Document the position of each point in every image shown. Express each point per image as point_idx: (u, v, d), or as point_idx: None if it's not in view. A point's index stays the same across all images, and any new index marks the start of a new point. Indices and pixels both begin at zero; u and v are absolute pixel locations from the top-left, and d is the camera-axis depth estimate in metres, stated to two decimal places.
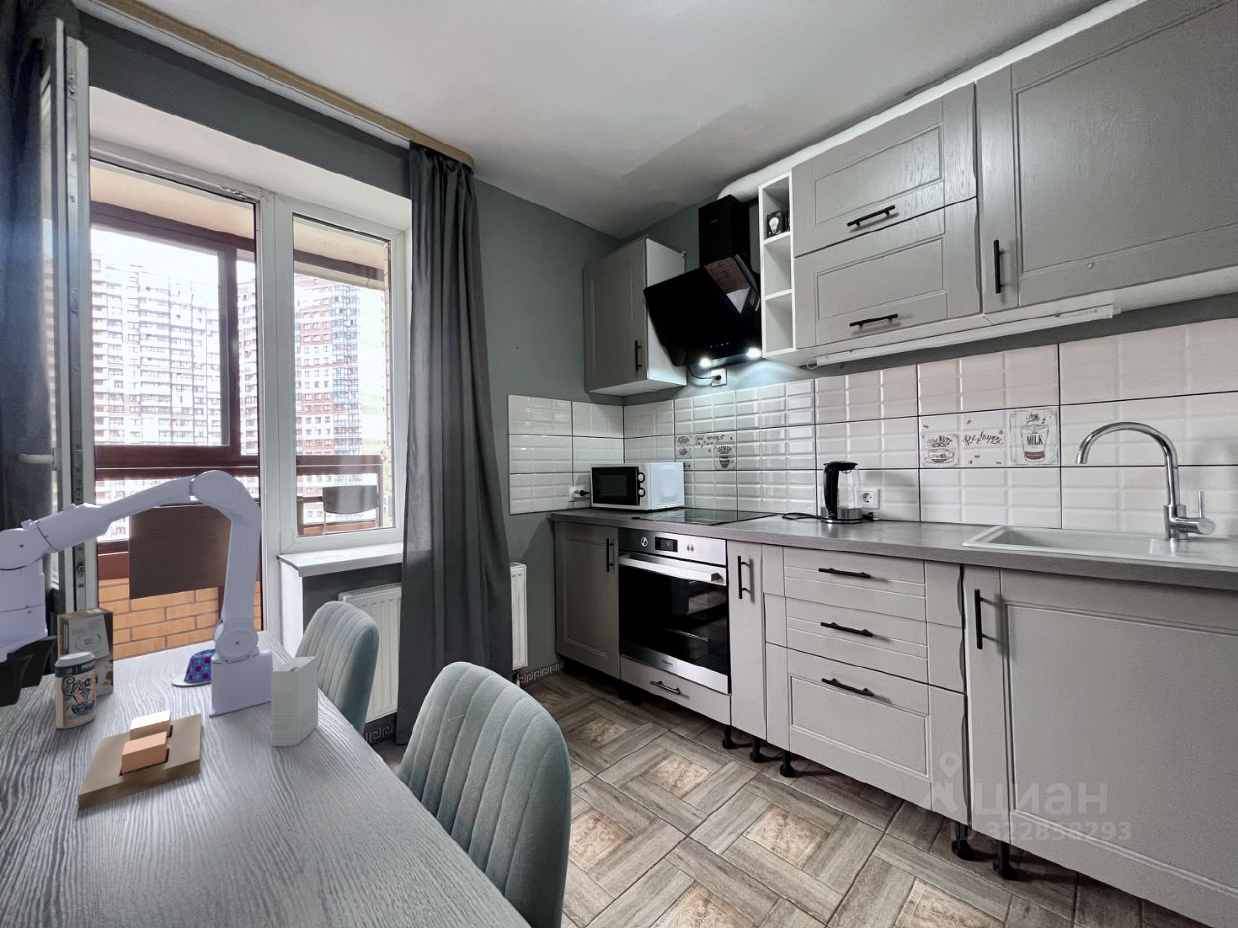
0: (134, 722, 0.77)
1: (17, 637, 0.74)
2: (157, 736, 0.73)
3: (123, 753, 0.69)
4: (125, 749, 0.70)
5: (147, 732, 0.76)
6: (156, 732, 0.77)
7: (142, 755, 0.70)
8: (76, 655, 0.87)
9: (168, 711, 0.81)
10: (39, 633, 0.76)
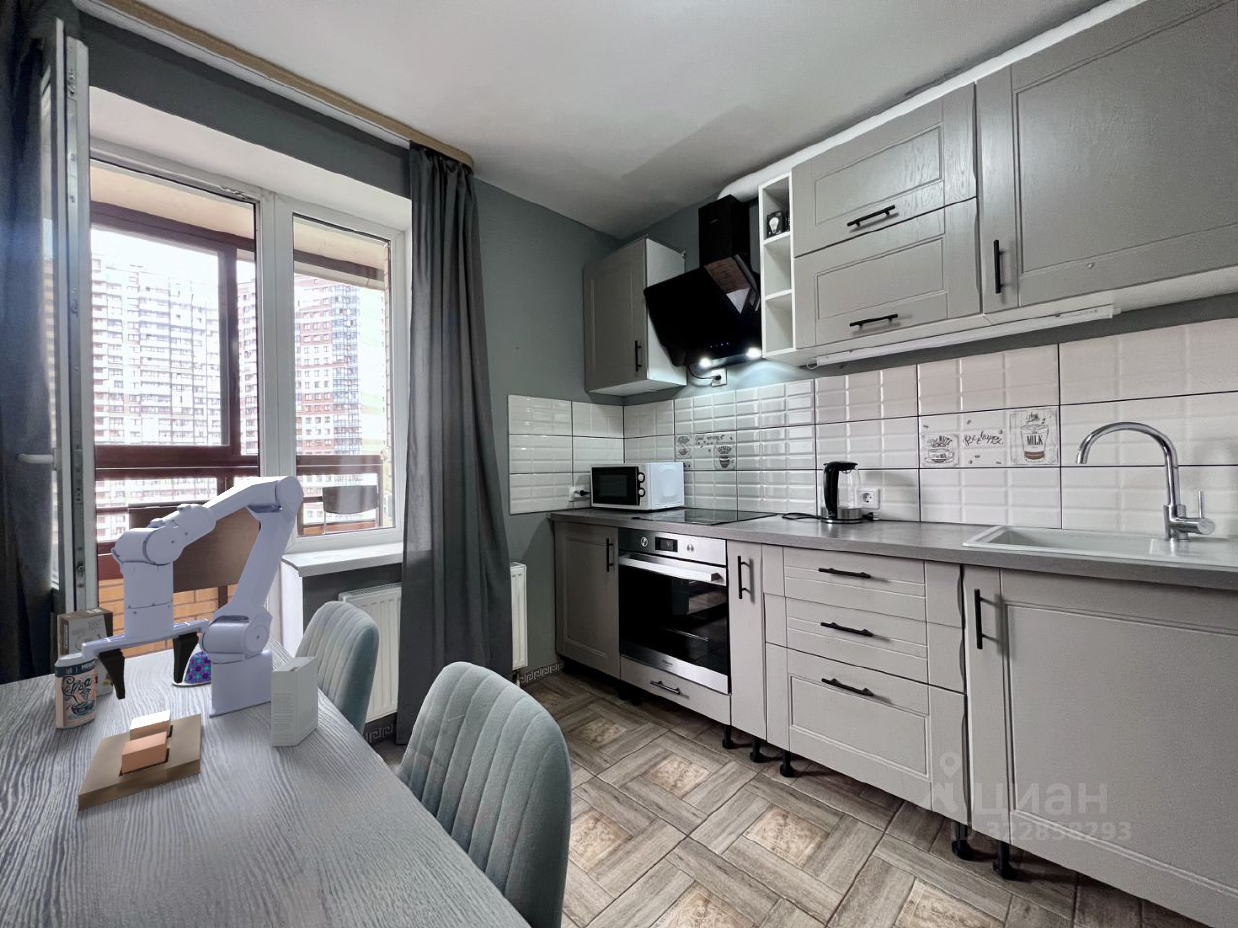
0: (134, 722, 0.77)
1: (126, 635, 0.76)
2: (157, 736, 0.73)
3: (123, 753, 0.69)
4: (125, 749, 0.70)
5: (147, 732, 0.76)
6: (156, 732, 0.77)
7: (142, 755, 0.70)
8: (76, 655, 0.87)
9: (168, 711, 0.81)
10: (143, 635, 0.76)
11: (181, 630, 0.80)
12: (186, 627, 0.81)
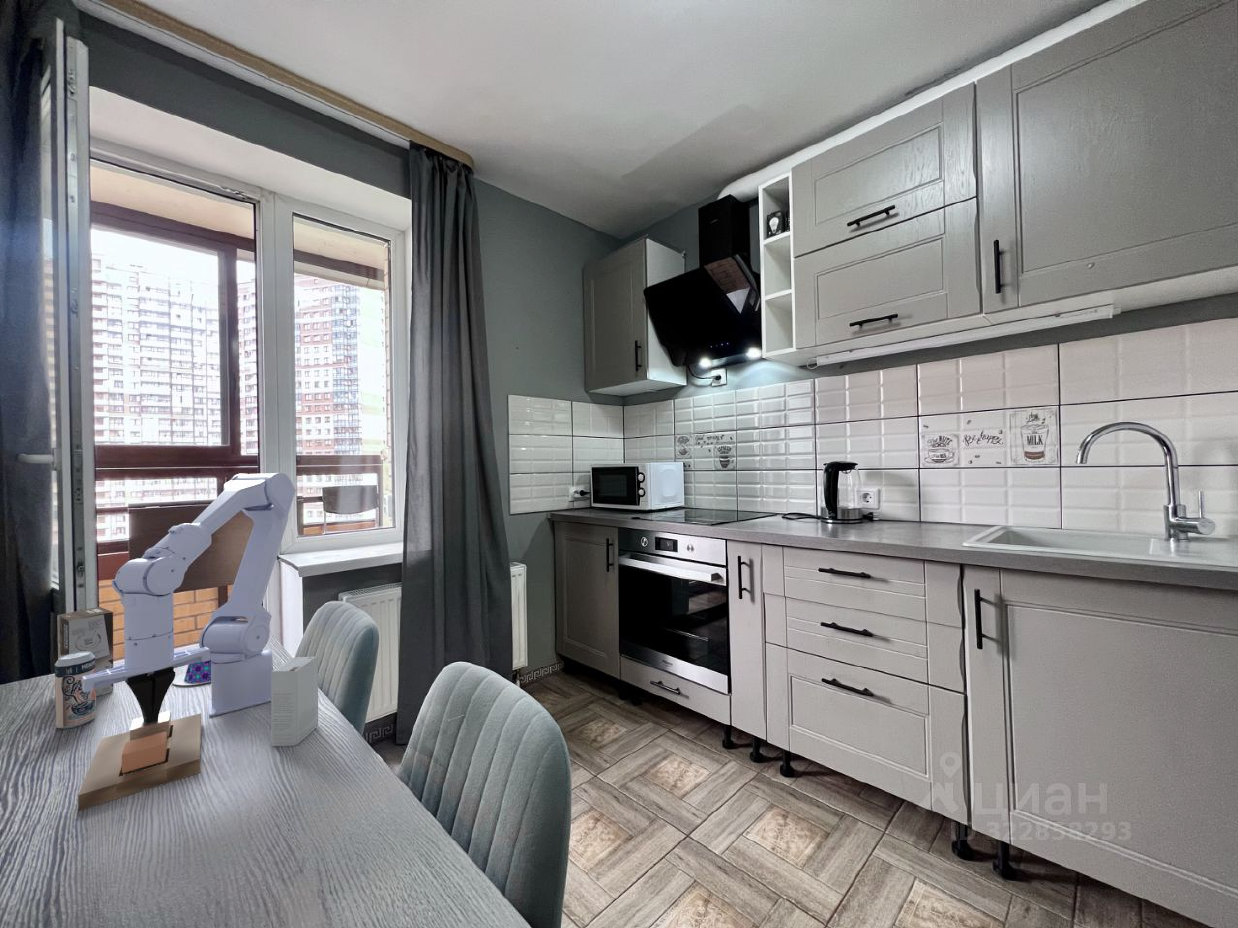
0: (134, 723, 0.77)
1: (127, 666, 0.76)
2: (157, 736, 0.73)
3: (123, 753, 0.69)
4: (125, 749, 0.70)
5: (147, 733, 0.76)
6: (156, 733, 0.77)
7: (142, 755, 0.70)
8: (76, 655, 0.87)
9: (168, 712, 0.81)
10: (143, 667, 0.76)
11: (181, 660, 0.80)
12: (186, 657, 0.81)
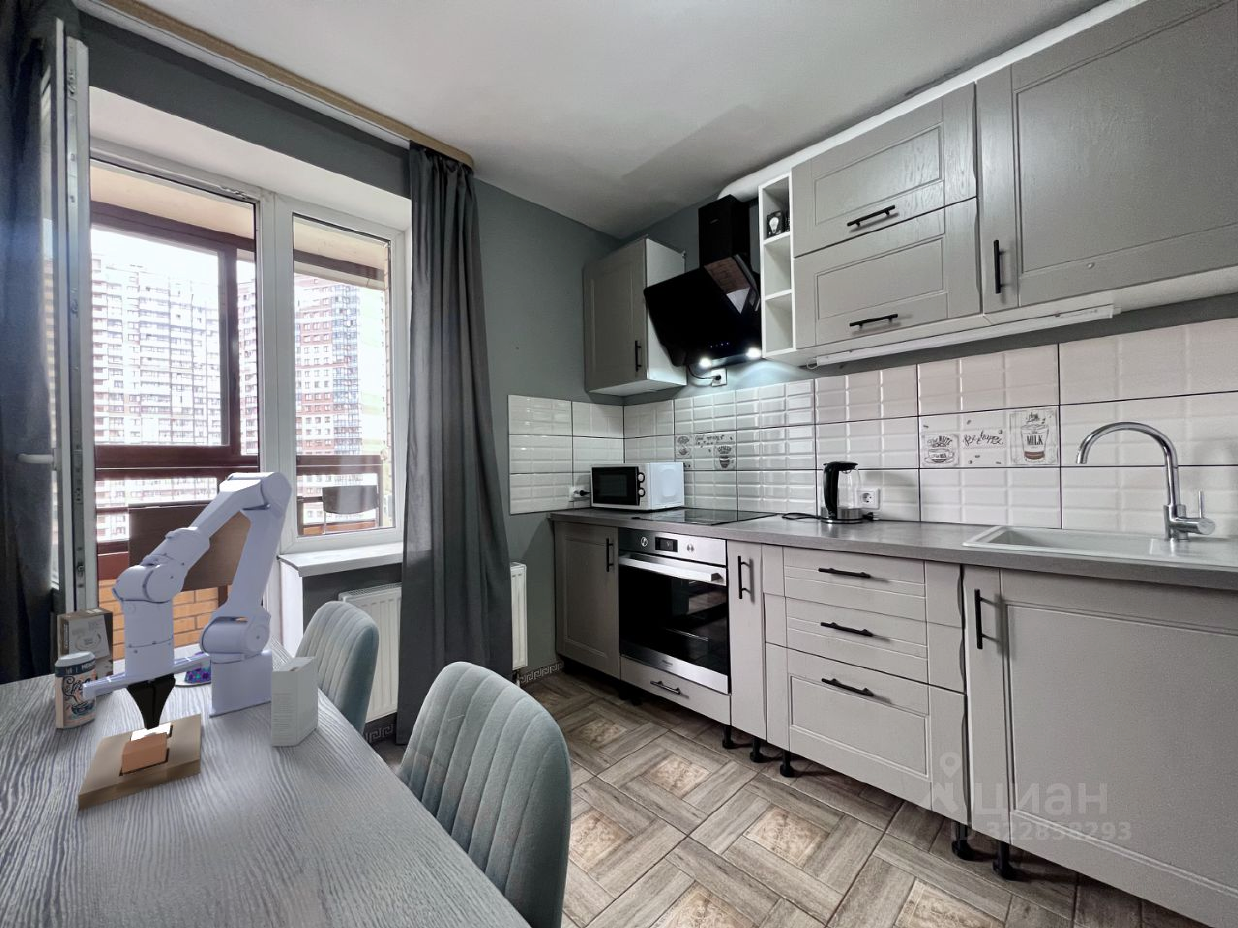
0: (134, 736, 0.77)
1: (127, 674, 0.76)
2: (157, 736, 0.73)
3: (123, 753, 0.69)
4: (125, 749, 0.70)
5: None
6: None
7: (142, 755, 0.70)
8: (76, 655, 0.87)
9: (168, 724, 0.81)
10: (144, 674, 0.76)
11: (182, 667, 0.80)
12: (187, 663, 0.81)
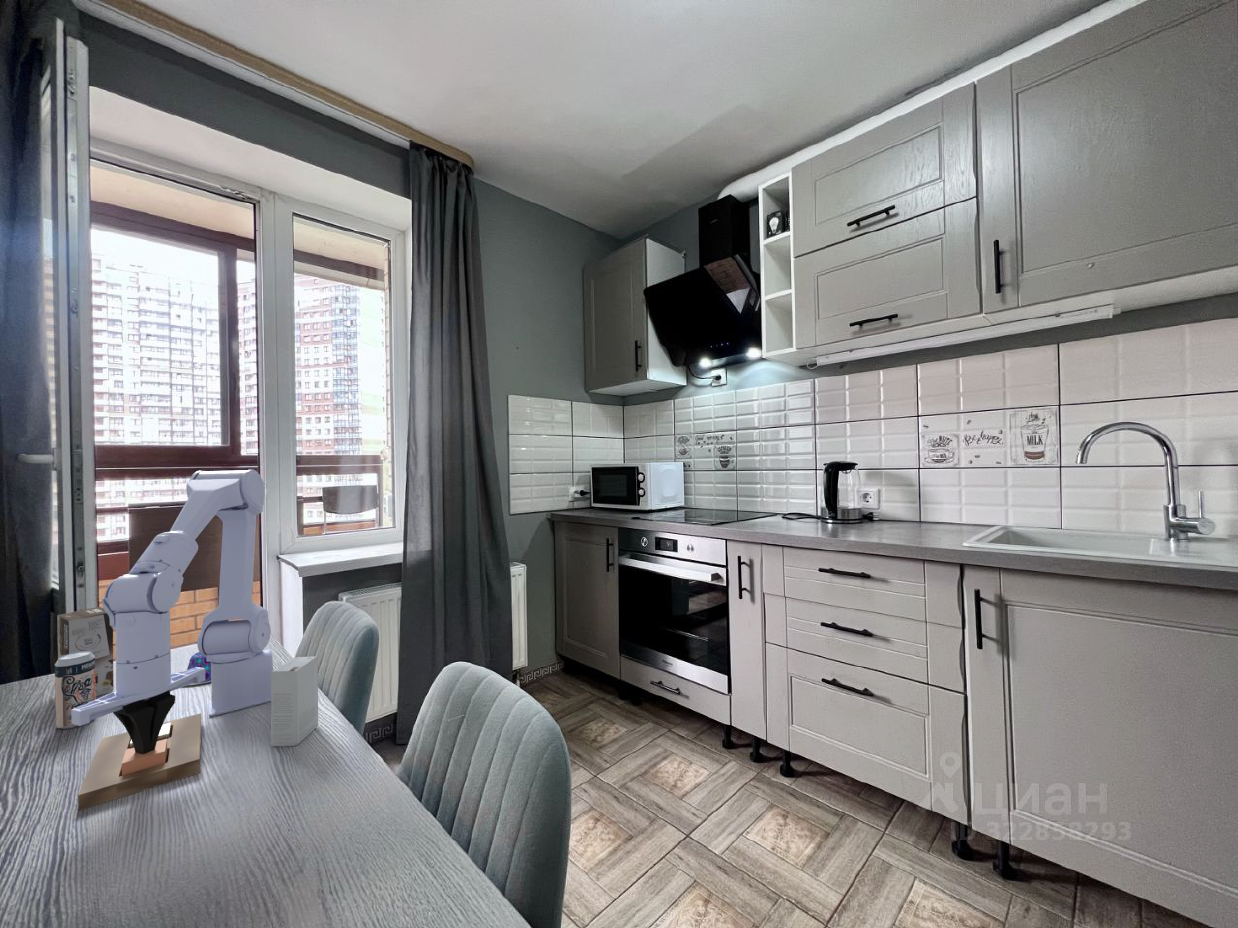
0: None
1: (123, 693, 0.69)
2: (157, 744, 0.73)
3: (123, 761, 0.69)
4: (125, 757, 0.70)
5: None
6: None
7: (142, 763, 0.70)
8: (76, 655, 0.87)
9: (168, 724, 0.81)
10: (145, 691, 0.69)
11: (181, 682, 0.74)
12: (185, 678, 0.75)
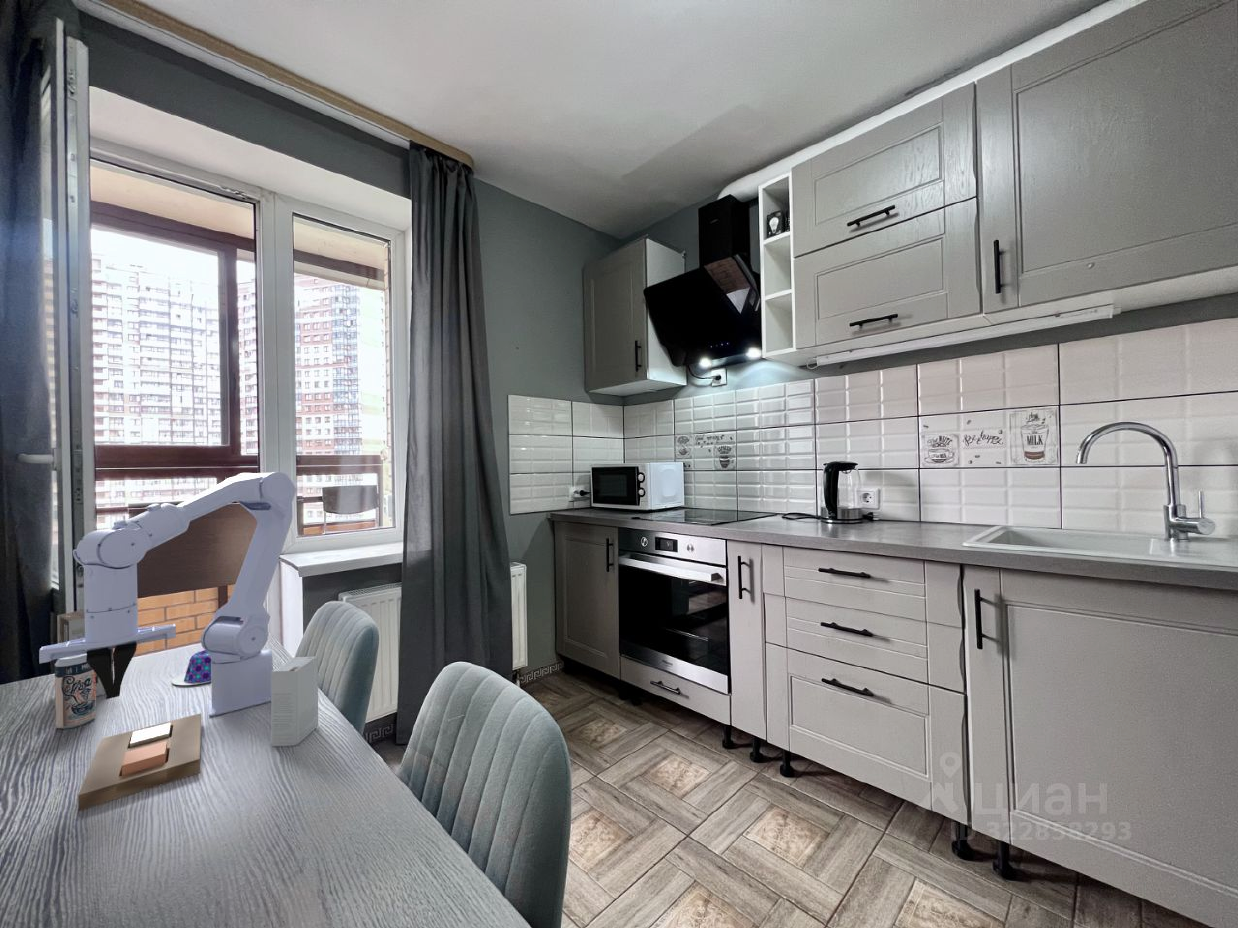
0: (134, 736, 0.77)
1: (85, 639, 0.74)
2: (157, 746, 0.73)
3: (123, 763, 0.69)
4: (125, 759, 0.70)
5: None
6: None
7: (142, 765, 0.70)
8: (76, 655, 0.87)
9: (168, 724, 0.81)
10: (99, 641, 0.73)
11: (143, 636, 0.77)
12: (149, 633, 0.78)
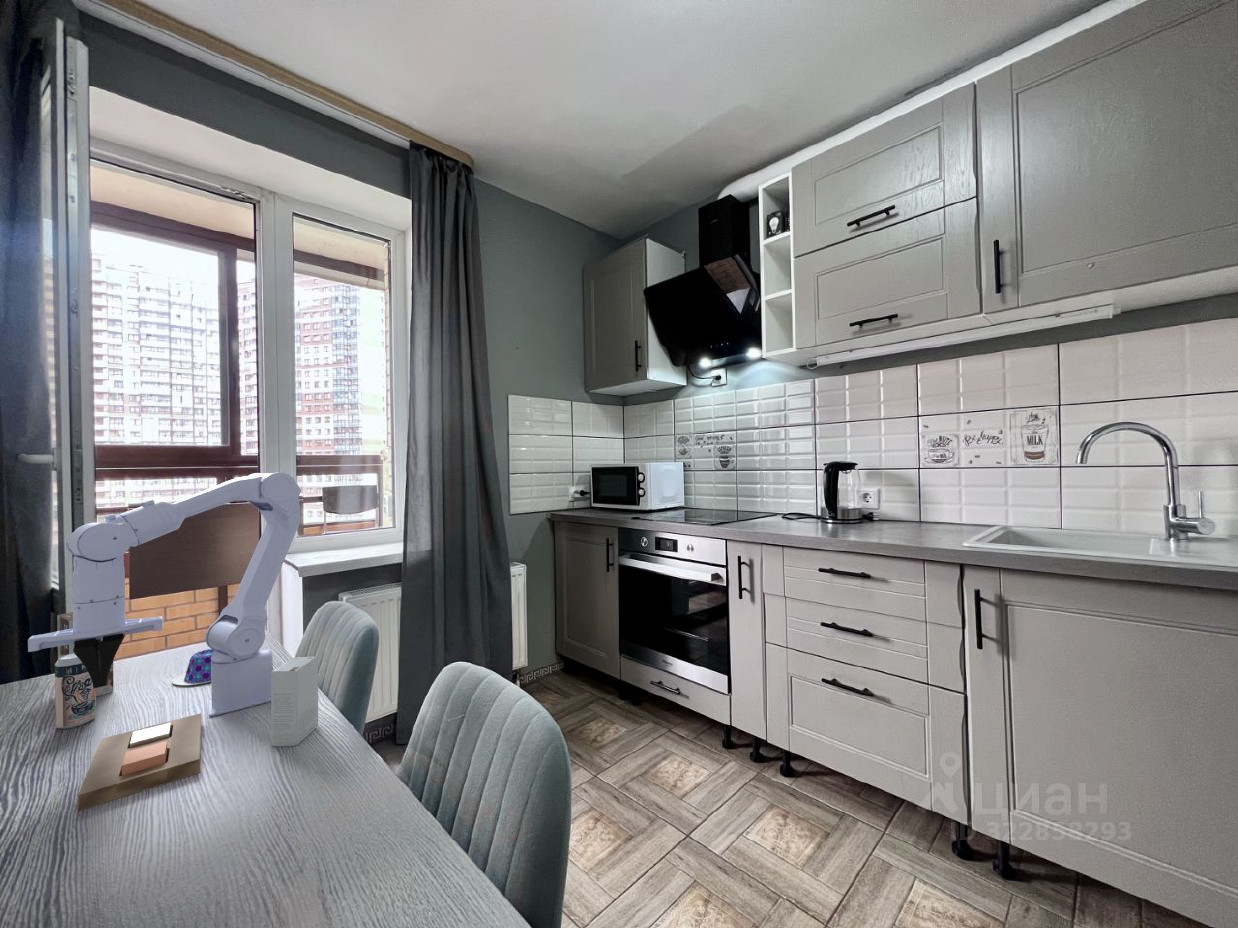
0: (134, 736, 0.77)
1: (73, 630, 0.76)
2: (157, 746, 0.73)
3: (123, 763, 0.69)
4: (125, 759, 0.70)
5: None
6: None
7: (142, 765, 0.70)
8: None
9: (168, 724, 0.81)
10: (86, 631, 0.75)
11: (129, 627, 0.79)
12: (135, 624, 0.79)
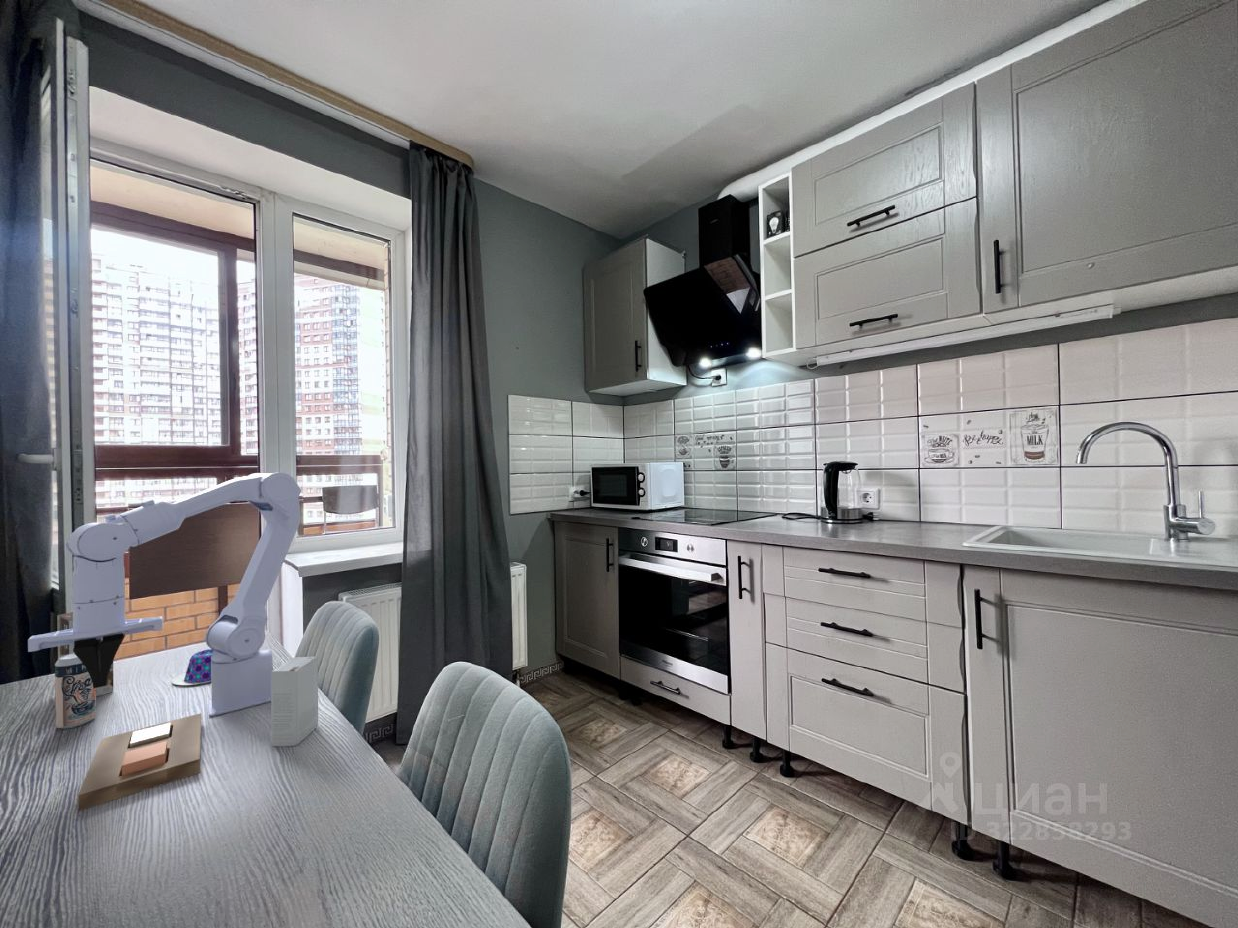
0: (134, 736, 0.77)
1: (73, 630, 0.76)
2: (157, 746, 0.73)
3: (123, 763, 0.69)
4: (125, 759, 0.70)
5: None
6: None
7: (142, 765, 0.70)
8: None
9: (168, 724, 0.81)
10: (86, 631, 0.75)
11: (129, 627, 0.79)
12: (135, 624, 0.79)
